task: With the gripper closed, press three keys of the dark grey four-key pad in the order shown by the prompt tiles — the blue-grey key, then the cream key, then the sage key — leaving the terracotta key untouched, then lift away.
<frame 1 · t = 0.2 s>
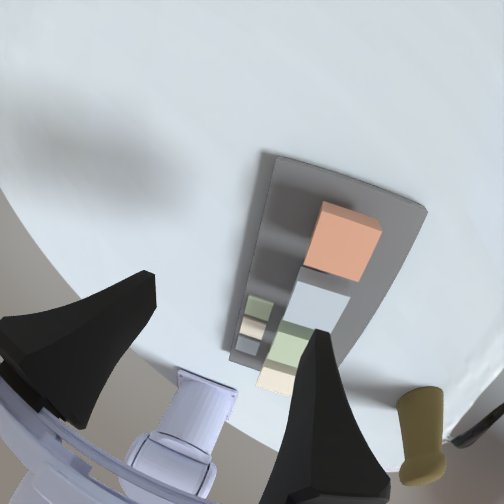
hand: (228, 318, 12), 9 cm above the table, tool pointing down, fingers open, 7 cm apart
keypad base: (309, 299, 22), on the table
key terracotta: (341, 241, 15), point 3 cm above the table, slide at 0.0 cm
cork: (420, 399, 25), on the table
key sage: (295, 344, 20), point 3 cm above the table, slide at 0.0 cm
key blue: (316, 301, 18), point 3 cm above the table, slide at 0.0 cm
key cream: (279, 375, 23), point 3 cm above the table, slide at 0.0 cm
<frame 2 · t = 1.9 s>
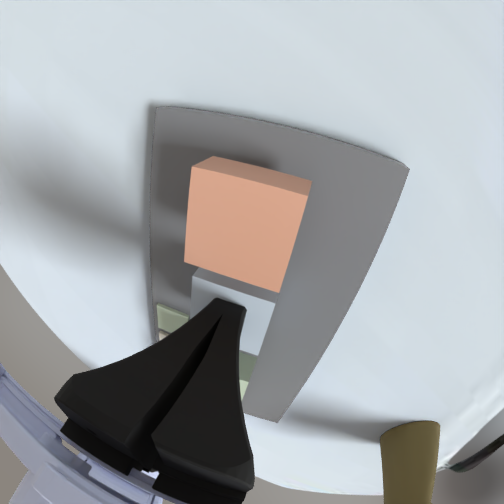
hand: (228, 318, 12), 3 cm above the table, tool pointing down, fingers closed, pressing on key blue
keypad base: (239, 313, 15), on the table
key terracotta: (245, 222, 9), point 3 cm above the table, slide at 0.0 cm
cork: (410, 433, 18), on the table
key sage: (217, 375, 14), point 3 cm above the table, slide at 0.0 cm
key blue: (233, 307, 12), point 2 cm above the table, slide at 0.8 cm, touching gripper
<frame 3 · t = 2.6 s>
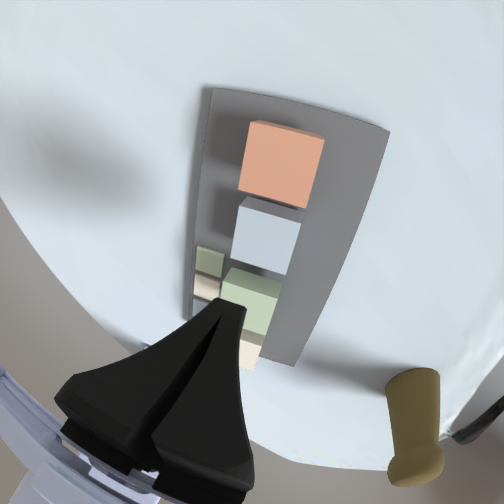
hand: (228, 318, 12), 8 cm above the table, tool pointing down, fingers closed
keypad base: (266, 251, 19), on the table
key terracotta: (282, 161, 13), point 3 cm above the table, slide at 0.0 cm
cork: (412, 384, 22), on the table
key sage: (248, 302, 18), point 3 cm above the table, slide at 0.0 cm
key blue: (266, 235, 16), point 2 cm above the table, slide at 0.8 cm
key cream: (238, 344, 20), point 3 cm above the table, slide at 0.0 cm
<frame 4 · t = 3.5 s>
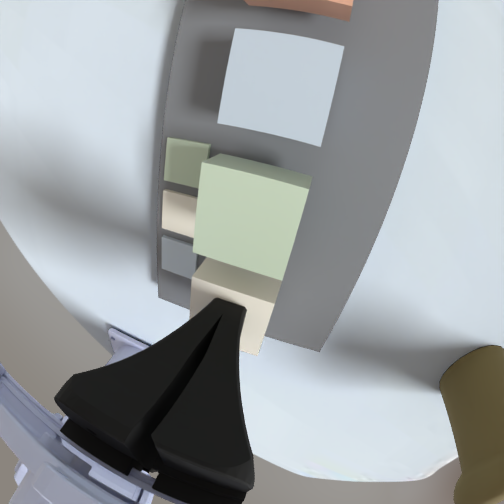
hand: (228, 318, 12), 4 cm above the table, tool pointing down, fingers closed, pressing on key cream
keypad base: (279, 142, 11), on the table
cork: (473, 371, 14), on the table
key sage: (250, 214, 10), point 3 cm above the table, slide at 0.0 cm
key blue: (282, 84, 8), point 2 cm above the table, slide at 0.8 cm
key cream: (232, 308, 12), point 3 cm above the table, slide at 0.1 cm, touching gripper
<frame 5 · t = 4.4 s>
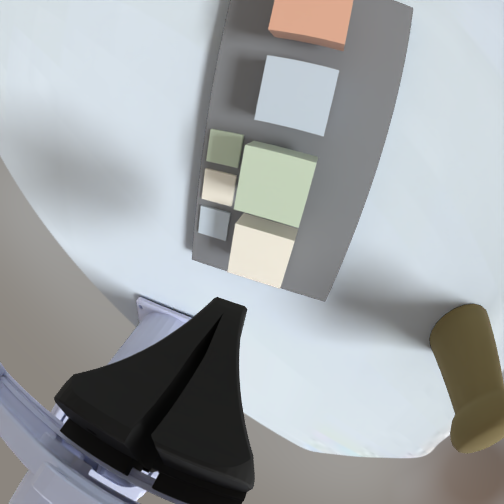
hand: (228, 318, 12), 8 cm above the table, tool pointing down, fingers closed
keypad base: (293, 135, 15), on the table
key terracotta: (313, 10, 9), point 3 cm above the table, slide at 0.0 cm
cork: (459, 329, 18), on the table
key sage: (276, 182, 14), point 3 cm above the table, slide at 0.0 cm
key blue: (297, 94, 12), point 2 cm above the table, slide at 0.8 cm
key cream: (262, 250, 17), point 2 cm above the table, slide at 0.8 cm
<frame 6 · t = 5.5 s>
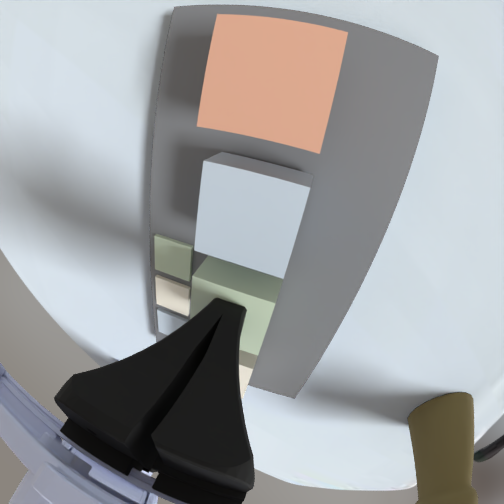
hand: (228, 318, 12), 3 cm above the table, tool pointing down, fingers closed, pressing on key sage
keypad base: (255, 242, 13), on the table
key terracotta: (274, 78, 7), point 3 cm above the table, slide at 0.0 cm
cork: (440, 410, 16), on the table
key sage: (233, 307, 12), point 2 cm above the table, slide at 0.8 cm, touching gripper
key blue: (252, 213, 10), point 2 cm above the table, slide at 0.8 cm
key cream: (222, 364, 15), point 2 cm above the table, slide at 0.8 cm
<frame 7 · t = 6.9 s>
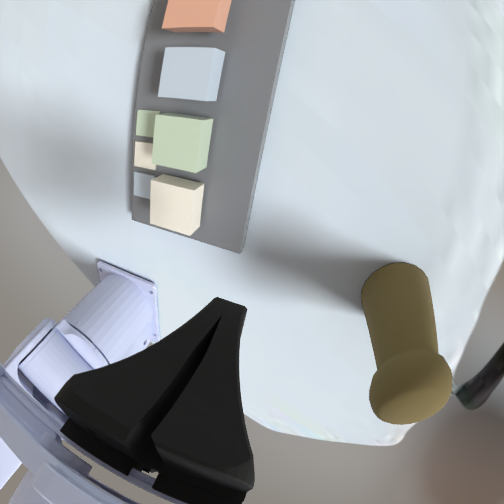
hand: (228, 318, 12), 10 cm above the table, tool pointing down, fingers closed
keypad base: (200, 107, 17), on the table
key terracotta: (198, 6, 11), point 3 cm above the table, slide at 0.0 cm
cork: (395, 292, 21), on the table
key sage: (181, 140, 17), point 2 cm above the table, slide at 0.8 cm
key blue: (190, 73, 14), point 2 cm above the table, slide at 0.8 cm
key cream: (175, 204, 19), point 2 cm above the table, slide at 0.8 cm
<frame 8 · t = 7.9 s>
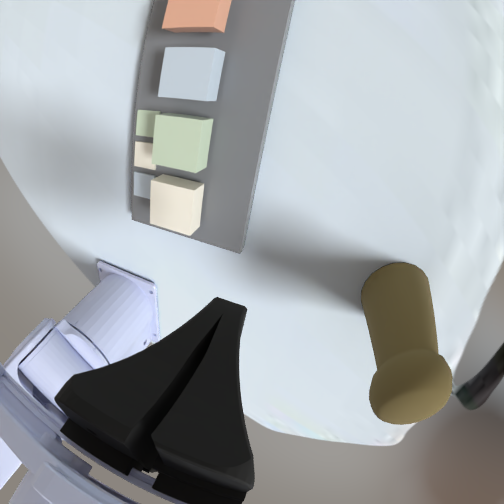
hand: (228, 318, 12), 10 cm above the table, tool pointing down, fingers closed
keypad base: (200, 107, 17), on the table
key terracotta: (198, 6, 11), point 3 cm above the table, slide at 0.0 cm
cork: (395, 292, 21), on the table
key sage: (181, 140, 17), point 2 cm above the table, slide at 0.8 cm
key blue: (190, 73, 14), point 2 cm above the table, slide at 0.8 cm
key cream: (175, 204, 19), point 2 cm above the table, slide at 0.8 cm
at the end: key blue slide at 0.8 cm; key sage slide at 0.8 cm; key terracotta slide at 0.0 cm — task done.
